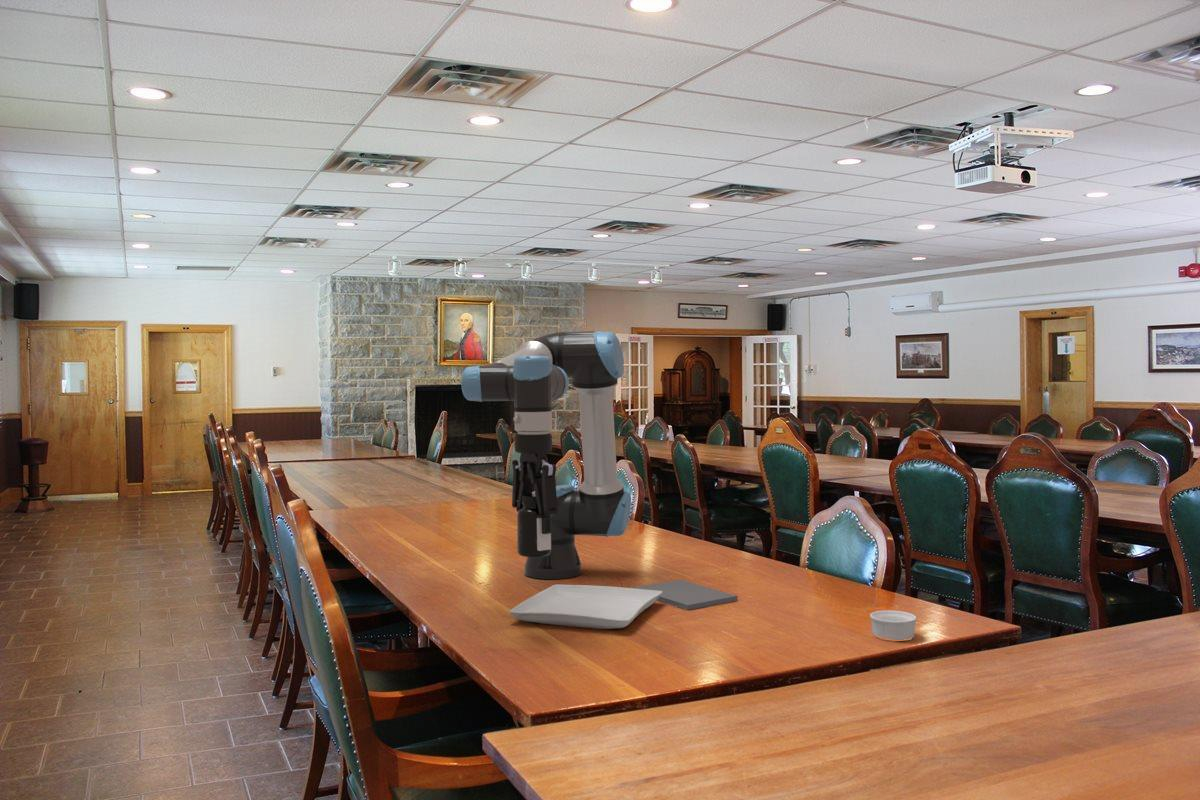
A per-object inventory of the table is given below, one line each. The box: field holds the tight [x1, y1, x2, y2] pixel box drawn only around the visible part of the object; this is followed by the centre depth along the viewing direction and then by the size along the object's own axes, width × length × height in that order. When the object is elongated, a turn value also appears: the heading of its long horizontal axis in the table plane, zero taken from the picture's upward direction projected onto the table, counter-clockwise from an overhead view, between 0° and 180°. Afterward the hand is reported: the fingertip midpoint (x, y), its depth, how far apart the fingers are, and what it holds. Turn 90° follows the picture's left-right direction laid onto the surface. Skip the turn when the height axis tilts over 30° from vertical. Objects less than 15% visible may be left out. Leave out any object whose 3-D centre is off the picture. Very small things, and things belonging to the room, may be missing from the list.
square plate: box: [508, 583, 663, 630], centre depth 202 cm, size 27×27×4 cm
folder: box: [631, 579, 738, 611], centre depth 217 cm, size 15×21×1 cm
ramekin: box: [869, 609, 918, 640], centre depth 183 cm, size 9×9×4 cm
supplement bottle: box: [516, 494, 551, 558], centre depth 183 cm, size 7×7×12 cm
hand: (534, 546), depth 183 cm, fingers closed on supplement bottle, 7 cm apart
